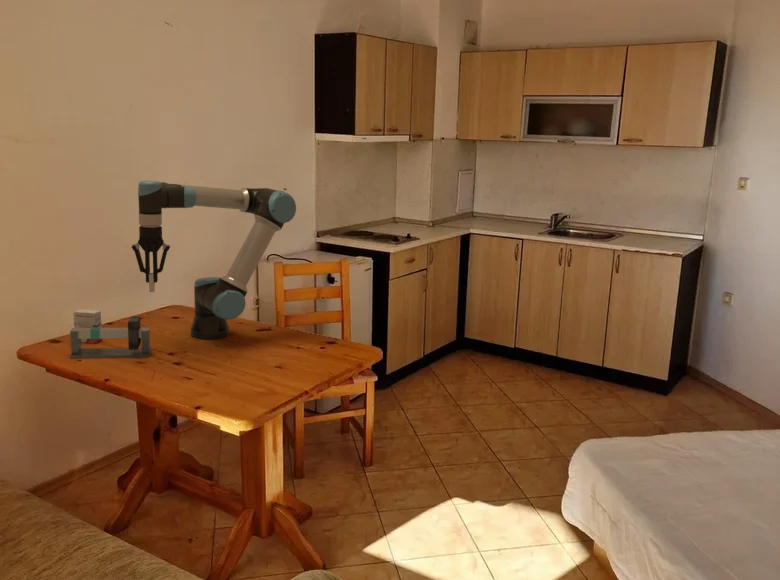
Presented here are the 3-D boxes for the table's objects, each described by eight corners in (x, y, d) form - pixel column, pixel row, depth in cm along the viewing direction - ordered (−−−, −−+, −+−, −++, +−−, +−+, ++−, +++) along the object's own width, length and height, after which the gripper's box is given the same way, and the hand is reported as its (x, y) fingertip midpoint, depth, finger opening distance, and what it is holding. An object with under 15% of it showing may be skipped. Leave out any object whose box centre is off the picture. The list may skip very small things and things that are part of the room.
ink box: (103, 339, 260) (101, 310, 258) (96, 343, 256) (95, 313, 253) (81, 338, 261) (79, 308, 258) (74, 341, 256) (72, 311, 254)
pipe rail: (151, 350, 252) (150, 325, 250) (148, 357, 244) (147, 331, 242) (75, 351, 247) (74, 325, 244) (70, 358, 239) (68, 331, 237)
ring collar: (140, 342, 251) (140, 316, 248) (137, 349, 243) (136, 322, 241) (132, 342, 250) (131, 316, 248) (128, 349, 242) (127, 322, 240)
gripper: (171, 224, 242) (172, 289, 248) (132, 223, 240) (134, 288, 245) (168, 227, 235) (169, 294, 241) (129, 226, 233) (130, 293, 238)
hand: (151, 291), depth 243 cm, fingers closed
